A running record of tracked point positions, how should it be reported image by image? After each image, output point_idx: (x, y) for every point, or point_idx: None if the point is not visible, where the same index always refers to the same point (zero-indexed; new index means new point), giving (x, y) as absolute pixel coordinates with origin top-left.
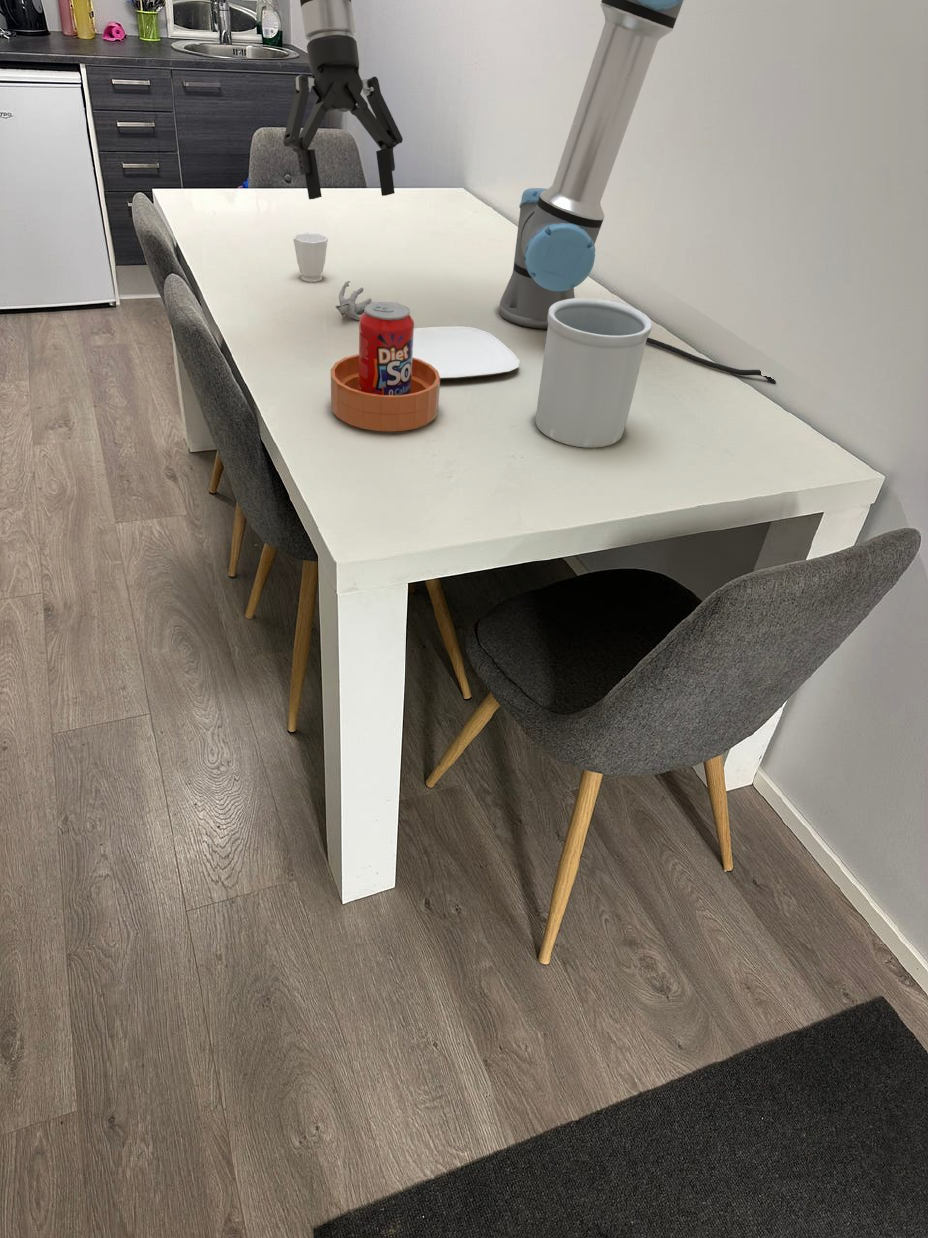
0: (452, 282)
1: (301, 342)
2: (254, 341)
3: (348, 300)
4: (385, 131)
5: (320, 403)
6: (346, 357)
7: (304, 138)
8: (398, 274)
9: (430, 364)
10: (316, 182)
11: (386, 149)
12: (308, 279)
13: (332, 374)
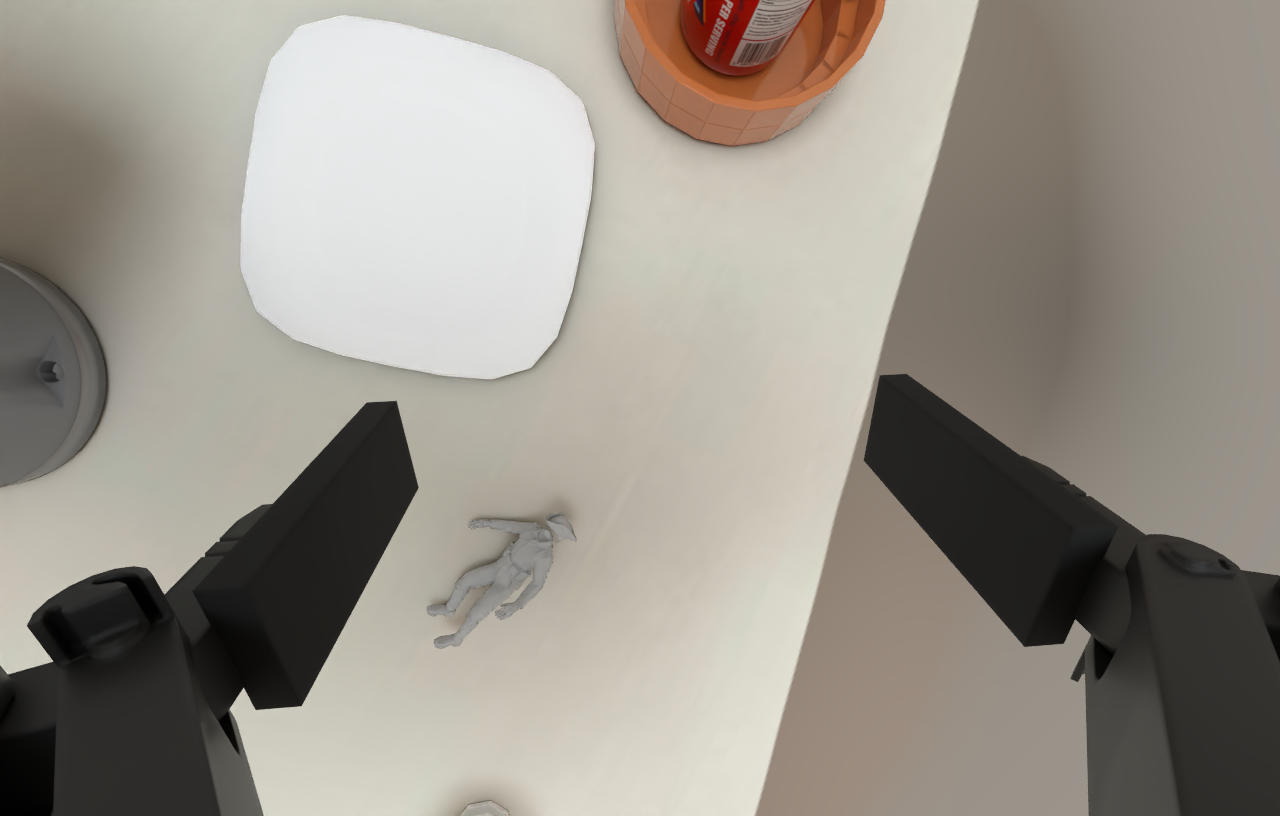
0: None
1: (710, 444)
2: (800, 488)
3: (529, 556)
4: (68, 761)
5: (831, 128)
6: (792, 103)
7: (1248, 596)
8: None
9: (507, 173)
10: (942, 403)
11: (241, 575)
12: (500, 812)
13: (875, 24)
